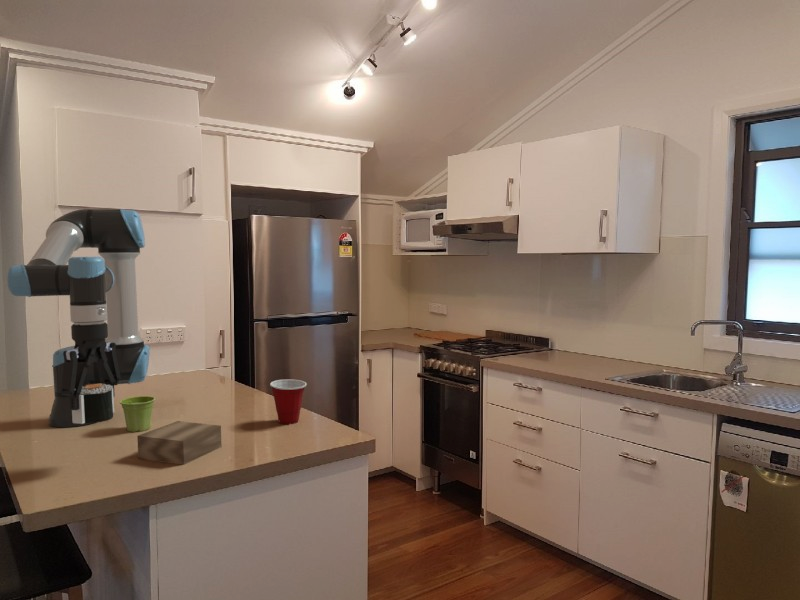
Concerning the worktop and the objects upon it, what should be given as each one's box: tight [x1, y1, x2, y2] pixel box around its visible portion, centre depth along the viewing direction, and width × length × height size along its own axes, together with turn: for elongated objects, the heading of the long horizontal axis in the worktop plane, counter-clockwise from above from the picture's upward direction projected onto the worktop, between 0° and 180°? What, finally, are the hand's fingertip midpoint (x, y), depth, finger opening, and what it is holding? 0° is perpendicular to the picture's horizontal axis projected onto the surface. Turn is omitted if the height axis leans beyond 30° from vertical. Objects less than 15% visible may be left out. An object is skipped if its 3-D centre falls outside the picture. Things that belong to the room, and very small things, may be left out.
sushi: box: [74, 383, 114, 424], centre depth 137 cm, size 8×8×8 cm
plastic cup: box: [269, 378, 308, 425], centre depth 173 cm, size 11×11×12 cm
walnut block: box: [137, 420, 222, 466], centre depth 146 cm, size 14×14×6 cm
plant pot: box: [119, 395, 156, 433], centre depth 168 cm, size 9×9×9 cm
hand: (94, 417), depth 137 cm, fingers closed on sushi, 9 cm apart
